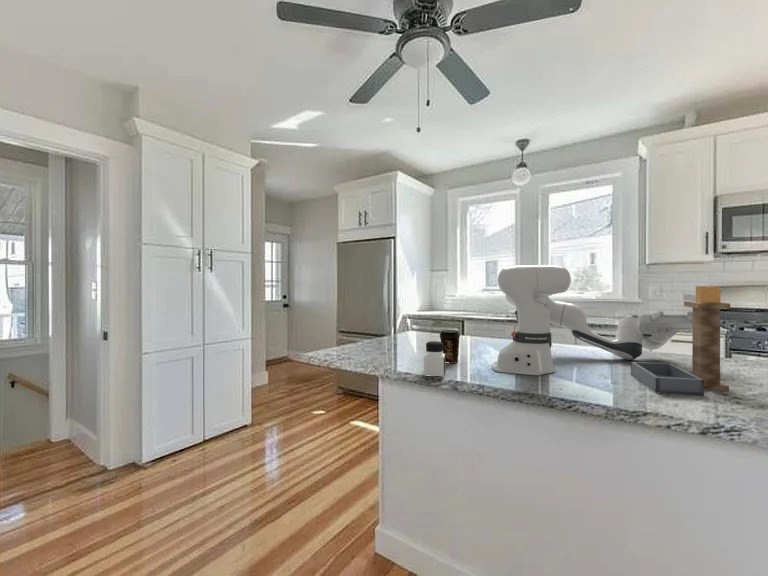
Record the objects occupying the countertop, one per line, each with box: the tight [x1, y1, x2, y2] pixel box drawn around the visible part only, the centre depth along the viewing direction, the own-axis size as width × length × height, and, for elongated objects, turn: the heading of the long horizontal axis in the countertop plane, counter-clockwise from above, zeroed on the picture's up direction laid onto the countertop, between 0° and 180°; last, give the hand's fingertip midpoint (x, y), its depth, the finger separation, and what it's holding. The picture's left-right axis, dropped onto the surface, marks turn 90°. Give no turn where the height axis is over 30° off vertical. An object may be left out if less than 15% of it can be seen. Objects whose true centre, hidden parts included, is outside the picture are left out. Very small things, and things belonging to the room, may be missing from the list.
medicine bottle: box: [423, 340, 446, 377], centre depth 141 cm, size 7×7×12 cm
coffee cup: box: [439, 329, 461, 364], centre depth 161 cm, size 9×8×13 cm
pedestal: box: [683, 301, 731, 392], centre depth 120 cm, size 8×9×26 cm
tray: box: [630, 361, 705, 397], centre depth 124 cm, size 12×22×4 cm, turn 164°
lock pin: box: [683, 285, 721, 303], centre depth 125 cm, size 5×15×5 cm, turn 164°
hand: (676, 313), depth 140 cm, fingers open, 8 cm apart
